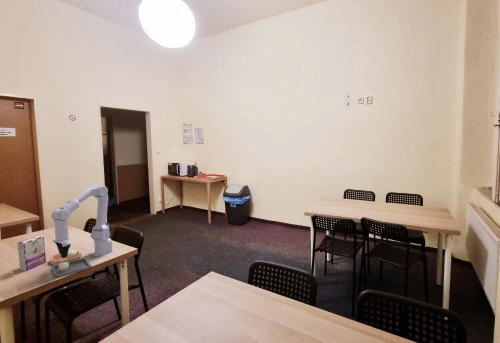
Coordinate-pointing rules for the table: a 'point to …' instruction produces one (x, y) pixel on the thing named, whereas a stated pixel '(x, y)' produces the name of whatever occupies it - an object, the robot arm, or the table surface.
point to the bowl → (58, 258)
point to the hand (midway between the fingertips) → (63, 255)
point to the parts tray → (72, 267)
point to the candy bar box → (31, 253)
